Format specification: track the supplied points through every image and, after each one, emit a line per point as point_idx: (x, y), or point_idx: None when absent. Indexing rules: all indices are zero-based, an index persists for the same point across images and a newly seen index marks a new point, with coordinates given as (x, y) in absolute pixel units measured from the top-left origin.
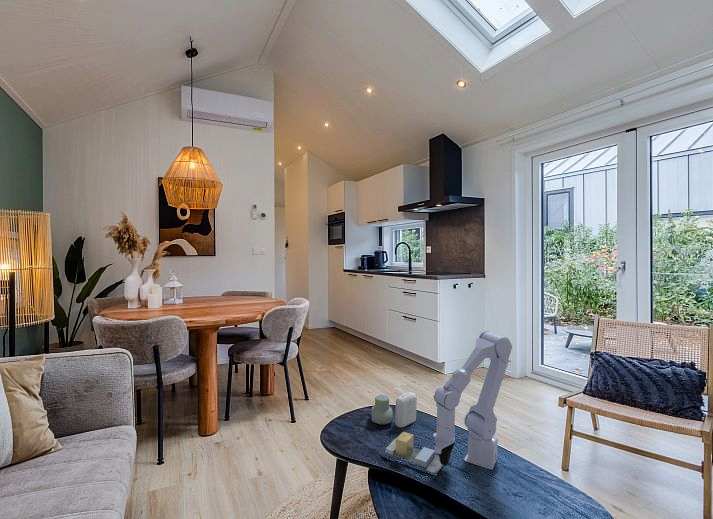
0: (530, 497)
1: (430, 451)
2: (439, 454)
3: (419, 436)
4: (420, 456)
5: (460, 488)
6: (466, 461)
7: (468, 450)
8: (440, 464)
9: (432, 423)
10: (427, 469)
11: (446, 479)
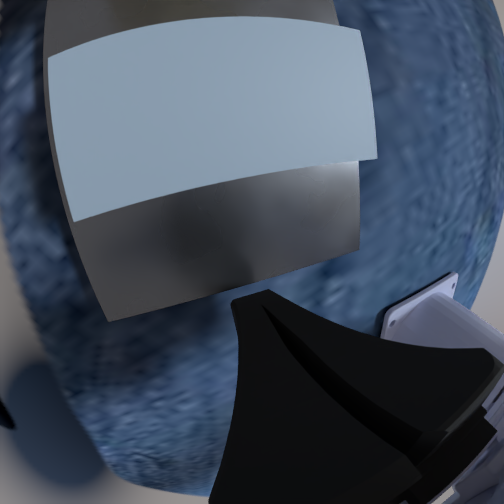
0: None
1: (334, 124)
2: (240, 386)
3: (435, 4)
4: (131, 75)
5: (152, 426)
6: (383, 323)
7: (438, 333)
8: (252, 266)
9: (499, 57)
10: (86, 229)
11: (148, 361)
